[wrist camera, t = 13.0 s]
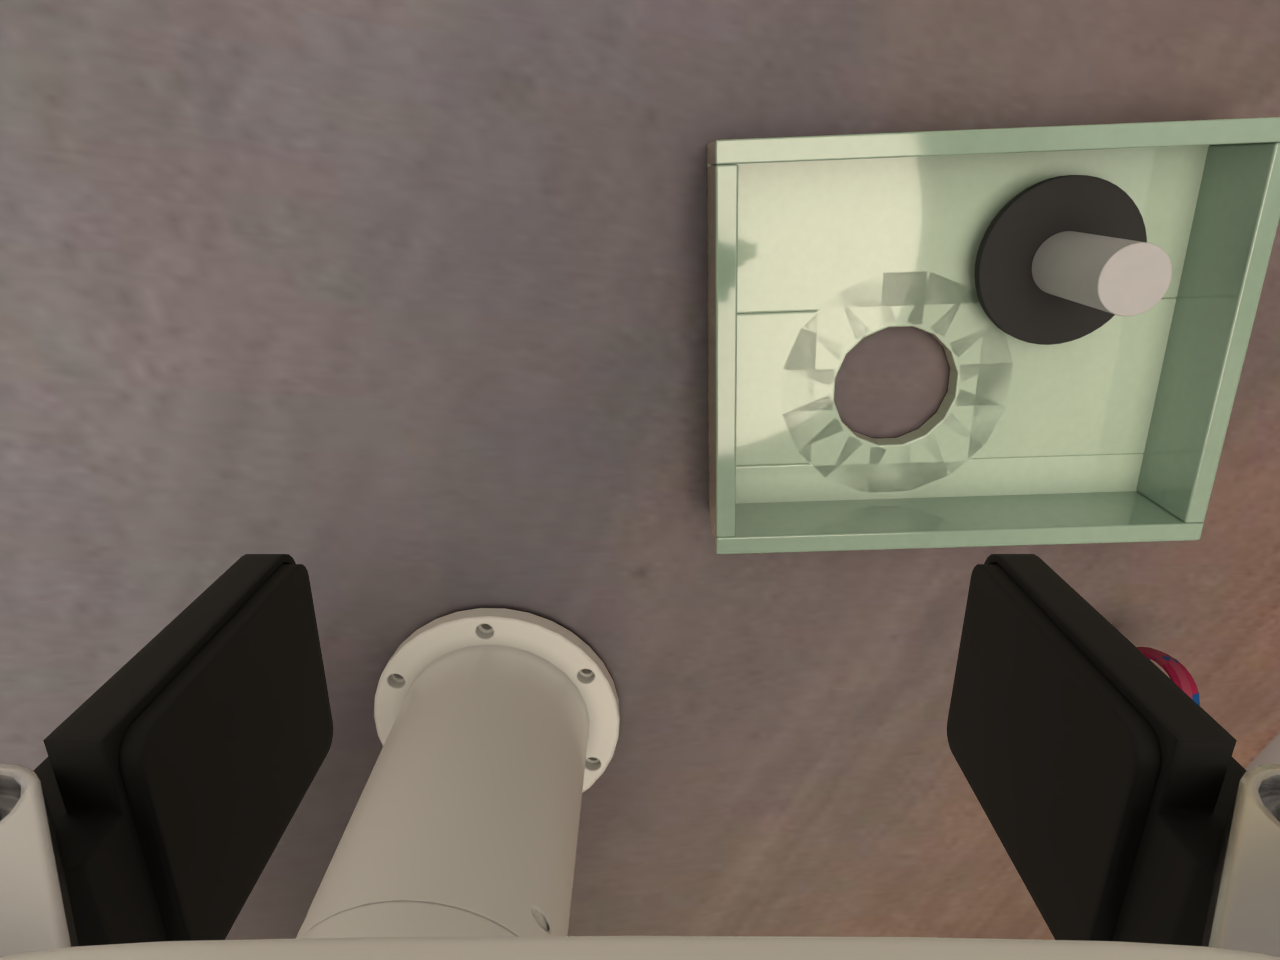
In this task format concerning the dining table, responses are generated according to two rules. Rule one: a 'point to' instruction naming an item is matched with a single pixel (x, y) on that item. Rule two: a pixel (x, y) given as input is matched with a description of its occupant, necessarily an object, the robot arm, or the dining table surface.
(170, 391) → the dining table surface
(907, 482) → the sink floor
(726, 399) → the sink
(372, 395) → the dining table surface
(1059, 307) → the plug
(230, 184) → the dining table surface
